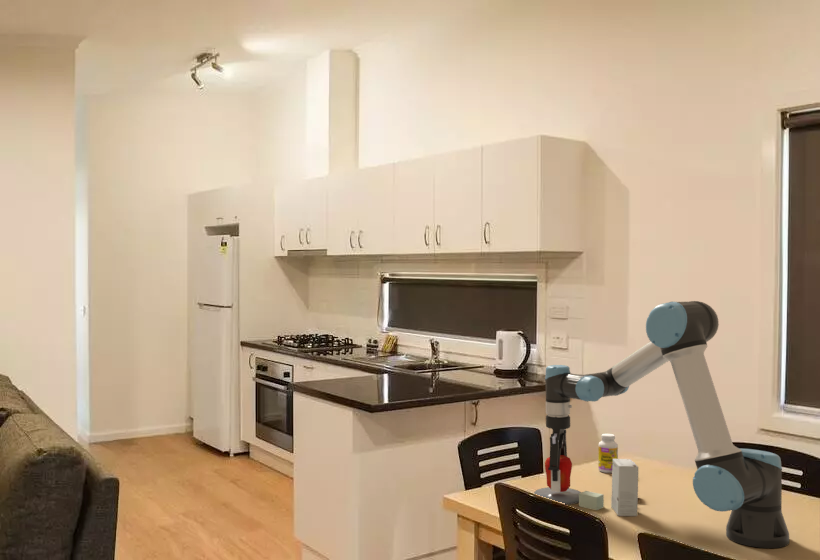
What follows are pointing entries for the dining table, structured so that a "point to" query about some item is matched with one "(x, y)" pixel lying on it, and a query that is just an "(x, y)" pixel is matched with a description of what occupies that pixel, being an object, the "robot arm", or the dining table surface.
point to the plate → (560, 495)
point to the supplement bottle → (607, 452)
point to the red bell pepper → (564, 469)
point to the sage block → (591, 500)
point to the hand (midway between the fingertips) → (558, 487)
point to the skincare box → (624, 487)
